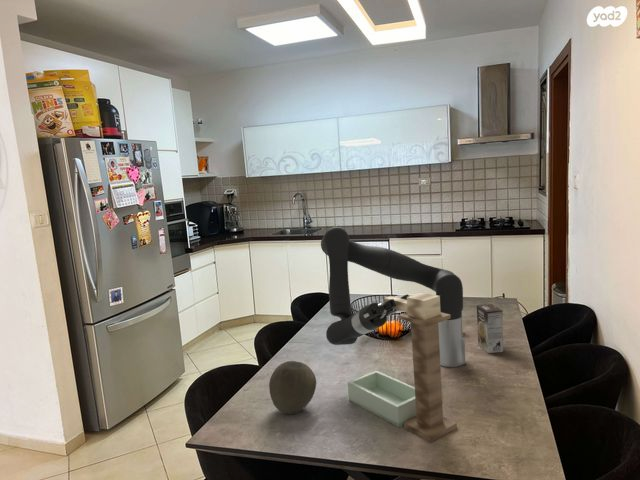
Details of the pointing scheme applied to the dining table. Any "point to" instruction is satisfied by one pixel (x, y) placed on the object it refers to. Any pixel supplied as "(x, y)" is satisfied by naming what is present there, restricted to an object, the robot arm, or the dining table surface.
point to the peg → (418, 305)
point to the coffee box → (490, 328)
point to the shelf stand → (427, 379)
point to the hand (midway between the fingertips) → (401, 300)
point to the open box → (384, 397)
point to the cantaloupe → (292, 386)
